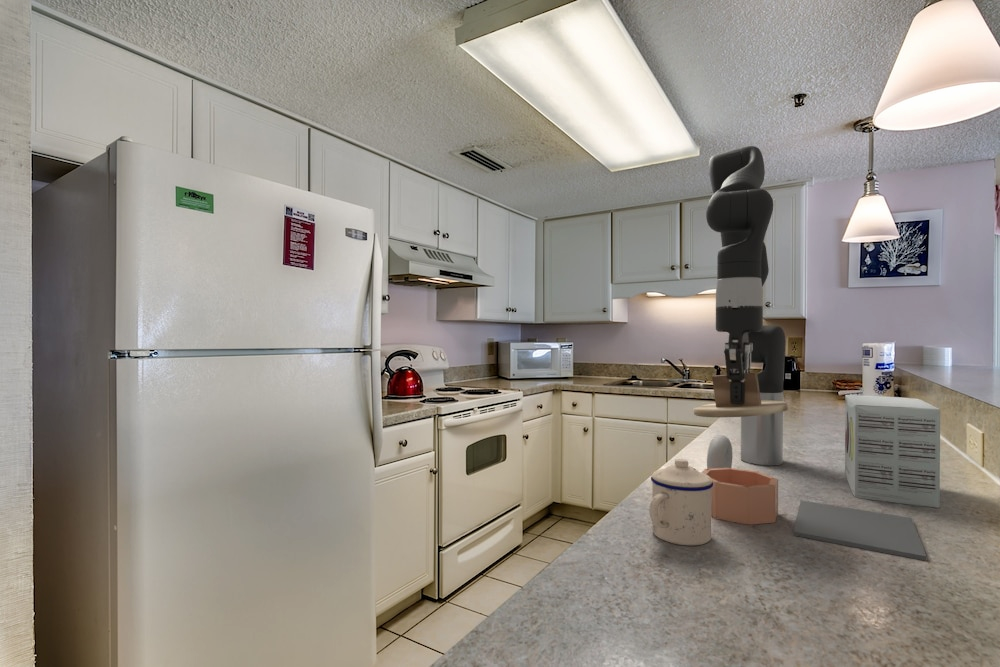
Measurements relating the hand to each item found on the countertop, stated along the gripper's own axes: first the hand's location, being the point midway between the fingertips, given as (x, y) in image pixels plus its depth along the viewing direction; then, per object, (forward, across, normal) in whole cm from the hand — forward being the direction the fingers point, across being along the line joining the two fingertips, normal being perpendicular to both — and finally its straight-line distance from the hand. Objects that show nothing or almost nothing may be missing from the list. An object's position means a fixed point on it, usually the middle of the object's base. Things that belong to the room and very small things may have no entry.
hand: (738, 402), depth 91 cm
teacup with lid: (+19, +18, -6) cm, 27 cm away
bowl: (+19, 0, 0) cm, 19 cm away
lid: (+1, 0, 0) cm, 1 cm away
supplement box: (+20, -30, +23) cm, 42 cm away
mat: (+19, -2, +17) cm, 26 cm away
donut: (+19, -17, -6) cm, 26 cm away
